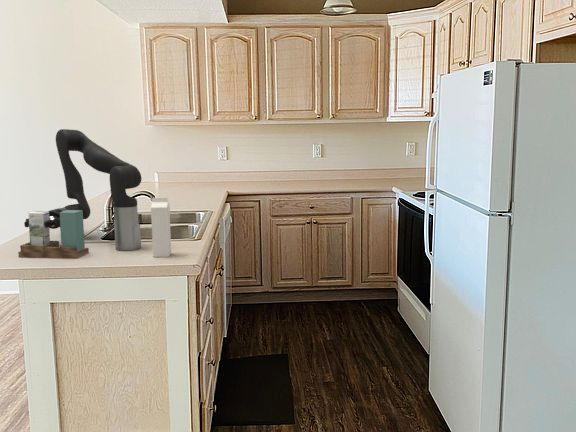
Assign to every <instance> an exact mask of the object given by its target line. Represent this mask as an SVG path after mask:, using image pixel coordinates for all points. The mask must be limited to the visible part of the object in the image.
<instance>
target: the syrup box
mask: <svg viewBox="0 0 576 432" xmlns="http://www.w3.org/2000/svg"><path fill="white" fill-rule="evenodd" d="M49 211H50V210H48V211H47V210H46V211H43V210H42V211H41V210H40V211H39V210H33V211H30V212H28V219H29V227H28V229H29V231H28V232H29V242H30V245H47V244H49V243H50V241H51V236H50V235H51V234H50V233H51V232H50V230H51V228H49V227H48V228H45V222H47V221H49Z"/></svg>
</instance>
